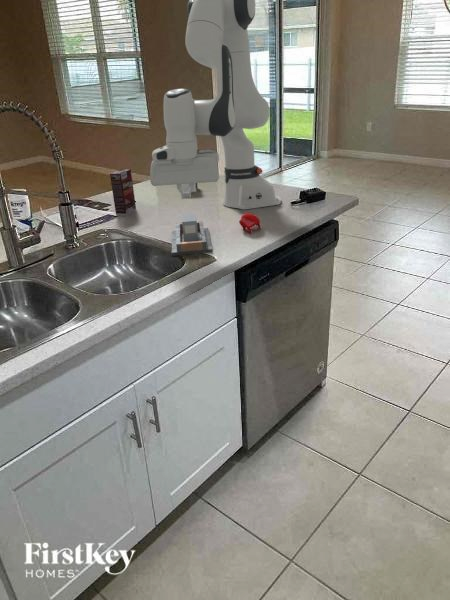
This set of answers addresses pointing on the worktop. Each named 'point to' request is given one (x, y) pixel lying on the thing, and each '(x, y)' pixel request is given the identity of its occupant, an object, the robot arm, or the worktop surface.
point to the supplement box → (123, 192)
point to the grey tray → (191, 247)
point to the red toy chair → (249, 221)
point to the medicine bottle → (186, 187)
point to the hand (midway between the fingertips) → (186, 198)
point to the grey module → (189, 228)
